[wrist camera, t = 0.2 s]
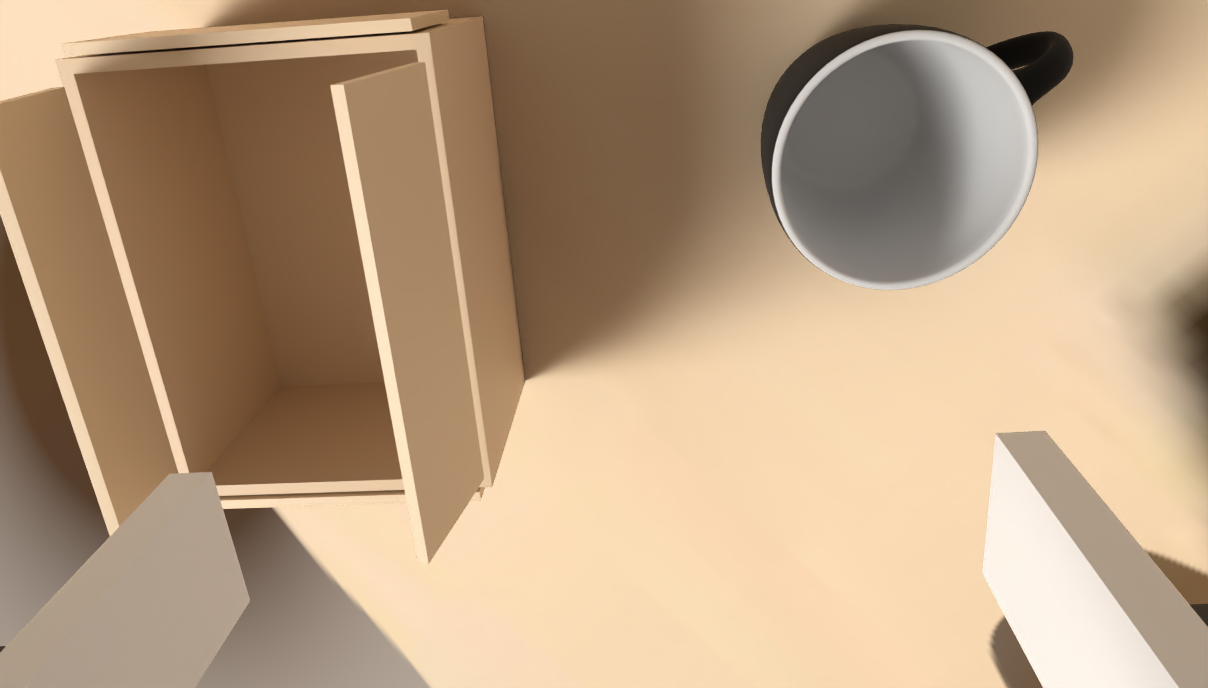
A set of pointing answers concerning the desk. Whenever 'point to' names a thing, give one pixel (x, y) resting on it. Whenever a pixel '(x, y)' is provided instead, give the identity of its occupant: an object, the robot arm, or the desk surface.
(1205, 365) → the desk surface
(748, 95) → the desk surface
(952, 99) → the mug
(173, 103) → the carton
